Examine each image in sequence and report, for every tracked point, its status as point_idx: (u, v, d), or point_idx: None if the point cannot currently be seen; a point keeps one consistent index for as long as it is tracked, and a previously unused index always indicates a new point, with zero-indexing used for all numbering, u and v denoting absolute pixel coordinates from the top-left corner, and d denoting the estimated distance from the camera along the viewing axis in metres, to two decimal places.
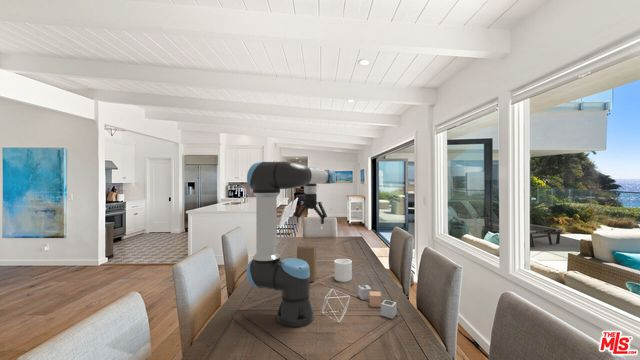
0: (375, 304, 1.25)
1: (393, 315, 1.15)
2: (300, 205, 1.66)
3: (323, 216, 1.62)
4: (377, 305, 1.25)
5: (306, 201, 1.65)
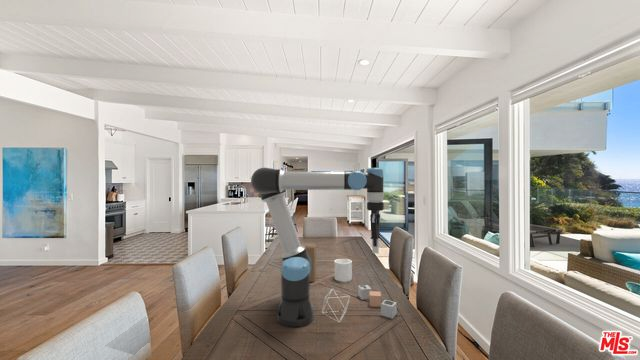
0: (375, 304, 1.25)
1: (393, 315, 1.15)
2: None
3: None
4: (377, 305, 1.25)
5: None
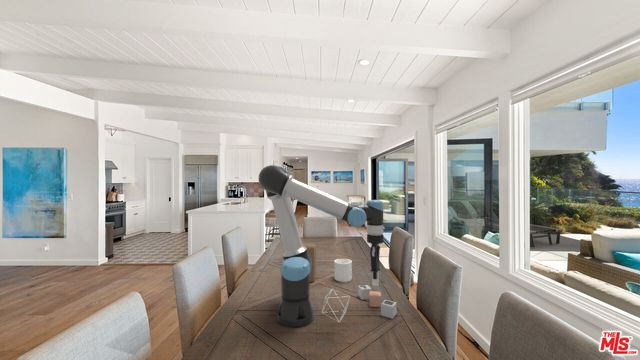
0: (375, 304, 1.25)
1: (393, 315, 1.15)
2: None
3: None
4: (377, 305, 1.25)
5: None
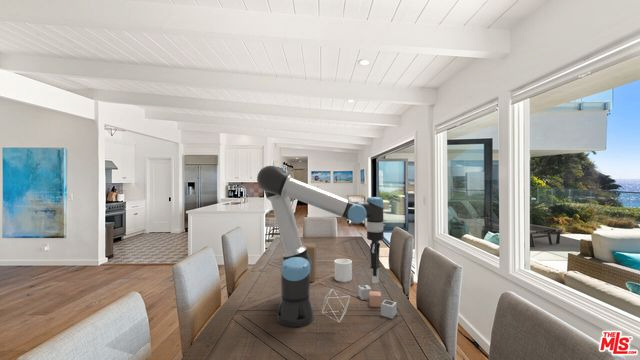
0: (375, 304, 1.25)
1: (393, 315, 1.15)
2: None
3: None
4: (377, 305, 1.25)
5: None
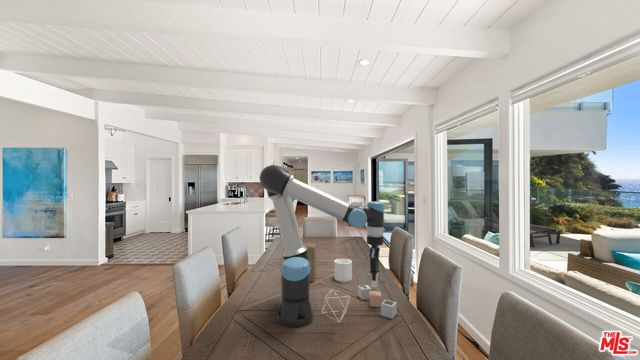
0: (375, 304, 1.25)
1: (393, 315, 1.15)
2: None
3: None
4: (377, 305, 1.25)
5: None
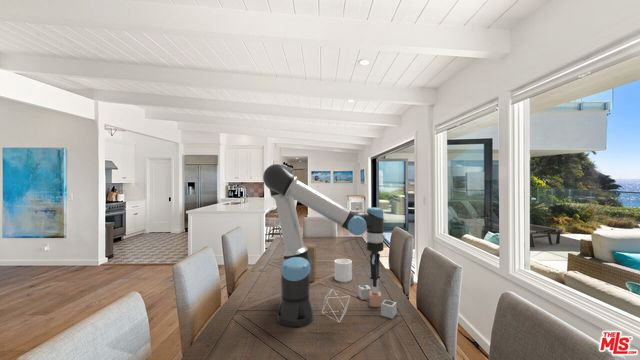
0: (375, 304, 1.25)
1: (393, 315, 1.15)
2: None
3: None
4: (377, 305, 1.25)
5: None
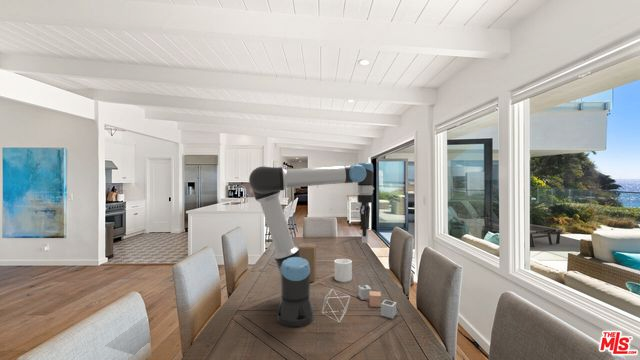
0: (375, 304, 1.25)
1: (393, 315, 1.15)
2: None
3: None
4: (377, 305, 1.25)
5: None
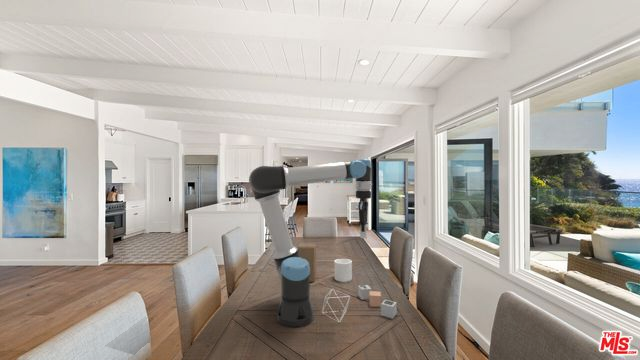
0: (375, 304, 1.25)
1: (393, 315, 1.15)
2: None
3: None
4: (377, 305, 1.25)
5: None
